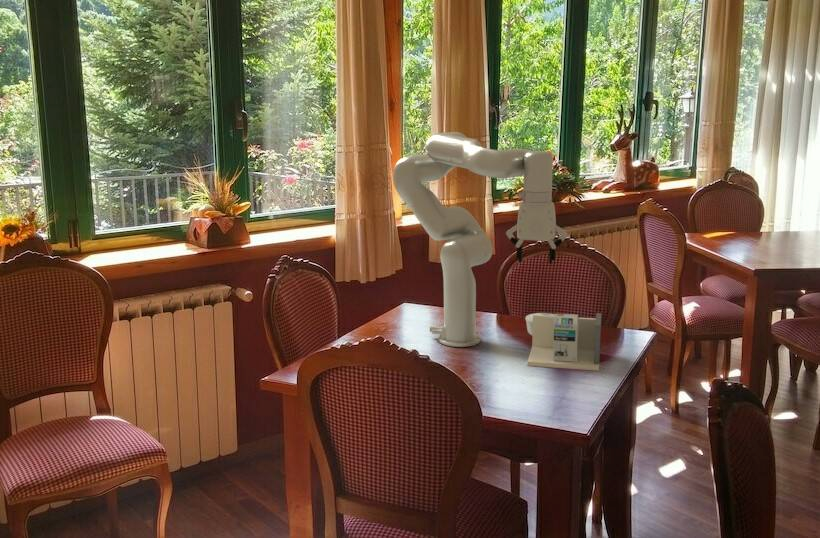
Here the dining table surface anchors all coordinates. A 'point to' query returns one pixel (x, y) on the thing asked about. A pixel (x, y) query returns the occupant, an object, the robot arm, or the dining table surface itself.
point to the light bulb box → (565, 337)
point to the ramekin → (530, 321)
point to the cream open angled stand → (545, 339)
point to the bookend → (597, 338)
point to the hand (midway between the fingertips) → (535, 261)
